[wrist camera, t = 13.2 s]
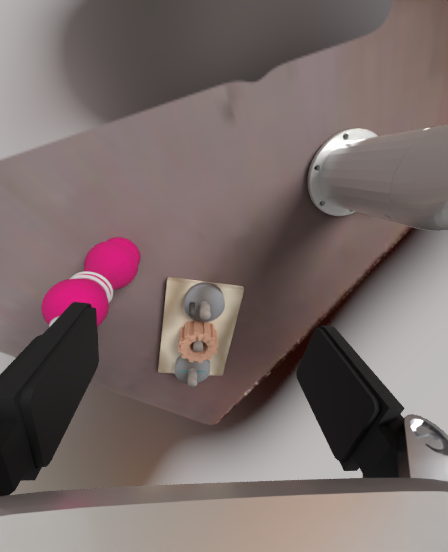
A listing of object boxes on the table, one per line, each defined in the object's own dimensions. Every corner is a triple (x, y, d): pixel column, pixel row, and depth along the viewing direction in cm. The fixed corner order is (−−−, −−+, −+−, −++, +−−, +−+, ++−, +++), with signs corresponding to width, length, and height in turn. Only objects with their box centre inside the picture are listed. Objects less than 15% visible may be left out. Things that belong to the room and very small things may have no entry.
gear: (219, 320, 45) (221, 333, 41) (213, 349, 48) (214, 363, 44) (181, 317, 43) (180, 330, 40) (177, 346, 46) (176, 361, 43)
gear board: (243, 283, 43) (250, 301, 38) (221, 372, 53) (224, 397, 47) (168, 273, 41) (163, 291, 35) (158, 368, 50) (153, 395, 44)
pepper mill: (147, 272, 40) (108, 356, 22) (105, 276, 40) (30, 365, 22) (138, 232, 37) (84, 292, 19) (92, 236, 37) (-8, 301, 19)
